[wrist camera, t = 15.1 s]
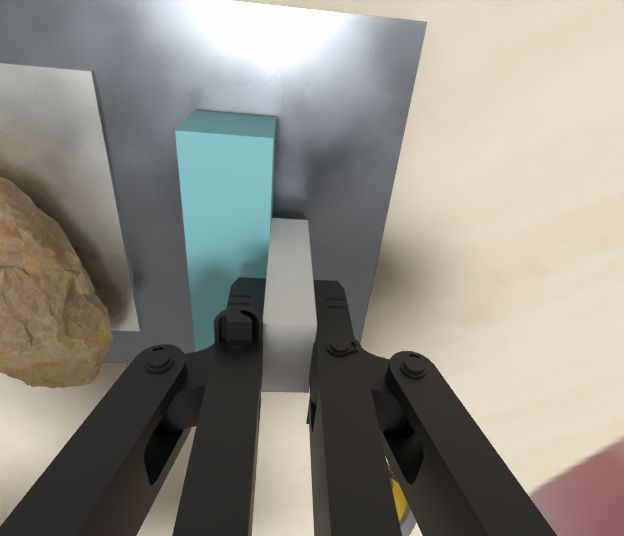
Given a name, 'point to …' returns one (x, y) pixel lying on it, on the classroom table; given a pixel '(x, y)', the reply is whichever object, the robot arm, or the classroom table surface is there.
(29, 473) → the classroom table surface
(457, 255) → the classroom table surface
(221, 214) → the bar
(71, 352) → the stone tool
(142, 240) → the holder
